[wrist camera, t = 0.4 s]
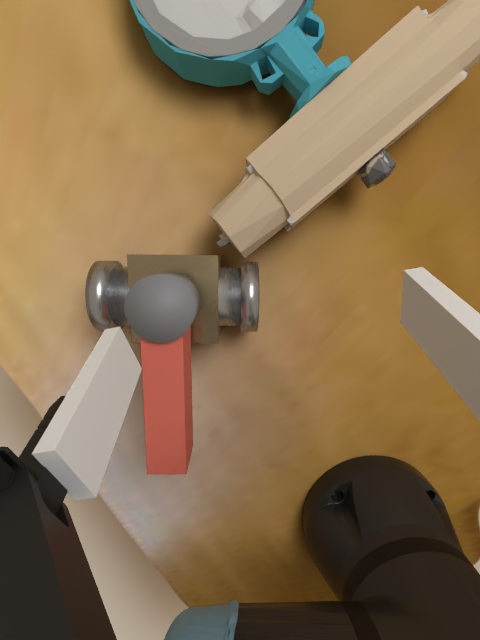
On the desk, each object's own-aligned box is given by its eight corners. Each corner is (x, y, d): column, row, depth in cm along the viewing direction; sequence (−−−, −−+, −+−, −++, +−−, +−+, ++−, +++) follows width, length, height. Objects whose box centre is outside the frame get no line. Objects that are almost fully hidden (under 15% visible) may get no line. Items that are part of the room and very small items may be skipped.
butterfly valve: (48, 33, 29) (253, 287, 31) (-16, -45, 23) (251, 286, 24) (277, -197, 27) (492, 92, 28) (284, -365, 20) (569, 27, 21)
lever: (141, 272, 24) (122, 274, 20) (200, 272, 24) (193, 275, 20) (149, 445, 26) (134, 478, 22) (202, 445, 26) (196, 478, 23)
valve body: (254, 256, 31) (260, 255, 24) (253, 328, 32) (258, 346, 25) (114, 255, 30) (80, 253, 24) (118, 327, 32) (87, 345, 25)
